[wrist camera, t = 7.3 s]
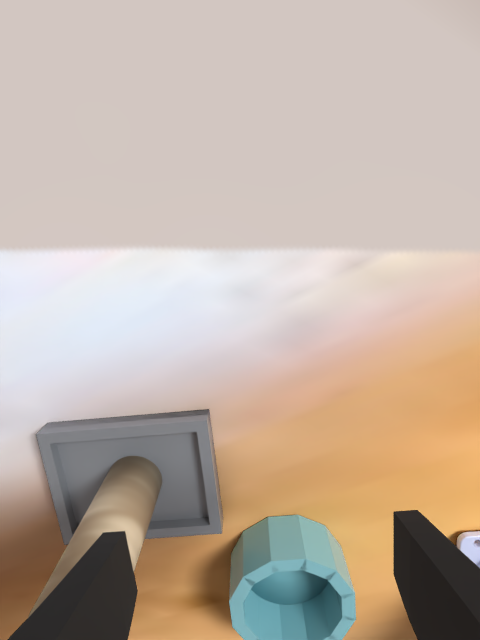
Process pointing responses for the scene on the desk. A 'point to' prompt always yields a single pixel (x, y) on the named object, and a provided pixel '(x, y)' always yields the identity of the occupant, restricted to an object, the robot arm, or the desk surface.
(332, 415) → the desk surface
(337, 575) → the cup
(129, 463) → the pin
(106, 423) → the tray
